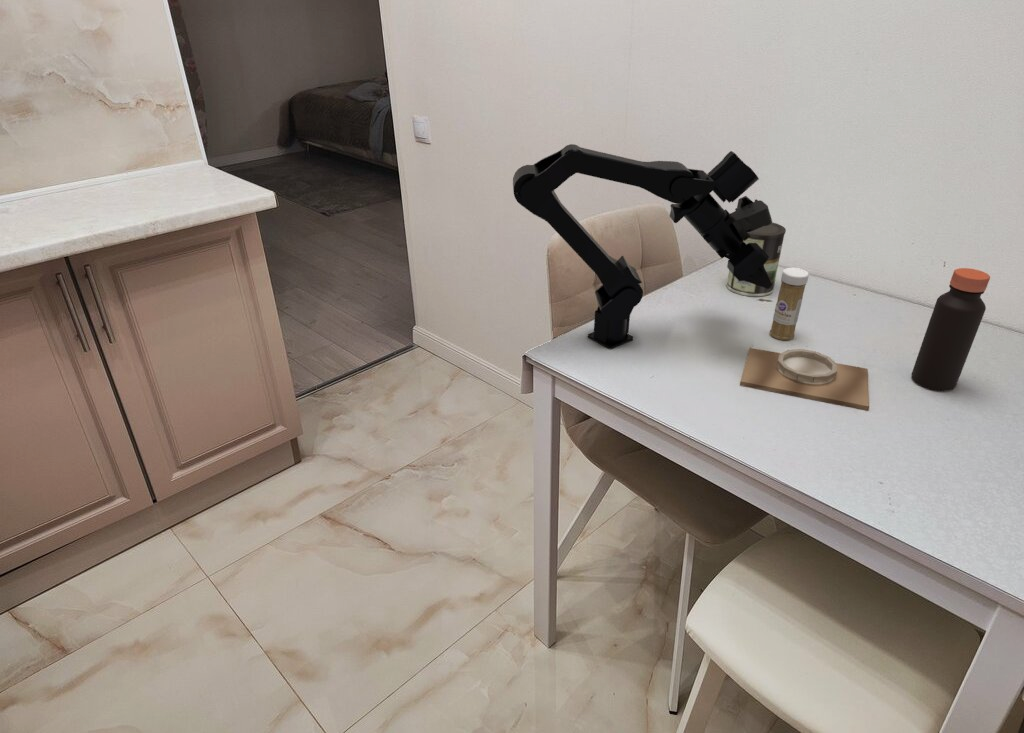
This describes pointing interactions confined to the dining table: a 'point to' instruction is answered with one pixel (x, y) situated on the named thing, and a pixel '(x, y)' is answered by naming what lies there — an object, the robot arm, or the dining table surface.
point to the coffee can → (772, 245)
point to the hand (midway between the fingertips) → (761, 276)
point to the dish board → (807, 377)
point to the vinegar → (951, 331)
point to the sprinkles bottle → (788, 303)
